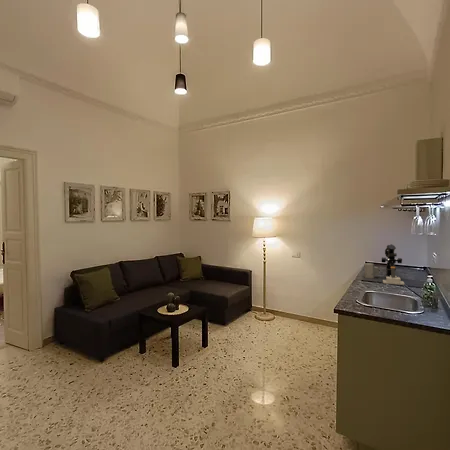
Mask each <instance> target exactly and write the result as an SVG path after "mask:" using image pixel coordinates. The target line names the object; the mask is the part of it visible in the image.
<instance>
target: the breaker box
mask: <svg viewBox="0 0 450 450" xmlns="http://www.w3.org/2000/svg"><path fill="white" fill-rule="evenodd" d="M385 277H386V278H385V279H382V283H383V284H385V285H386V284H387V285H399V286H405V282H404V281H402V280H401V277H398V276H397V275H395V277H391V275H390V276H385Z"/></svg>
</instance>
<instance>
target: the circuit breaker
mask: <svg viewBox="0 0 450 450" xmlns="http://www.w3.org/2000/svg"><path fill="white" fill-rule="evenodd" d="M363 265H364V273H363V274H364V275H363V277H364V278H365V279H375V276H379V275H380V272H381V269H380V268H379V267H378V266H375V264H374V263H373V262H372V263H371V262H370V263H369V262H367V263H366V262H364V264H363Z"/></svg>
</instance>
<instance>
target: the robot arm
mask: <svg viewBox="0 0 450 450" xmlns="http://www.w3.org/2000/svg"><path fill="white" fill-rule="evenodd" d="M396 249H397V248H396V246H395V245H394V244H387V245H386V248H385V250H384V255H385V257H381V263H386V266H385V271H386V277H390V275H391V267H395V272H396V269H397V266H396V265H395V264H396V263H397V264H402V263H403V258H401V257H398V258H396V257H397V256H398V255H397V252H395V250H396Z"/></svg>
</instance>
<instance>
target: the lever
mask: <svg viewBox="0 0 450 450" xmlns="http://www.w3.org/2000/svg"><path fill="white" fill-rule="evenodd" d="M395 276H396V271H395V267H391V277H395Z"/></svg>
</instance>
